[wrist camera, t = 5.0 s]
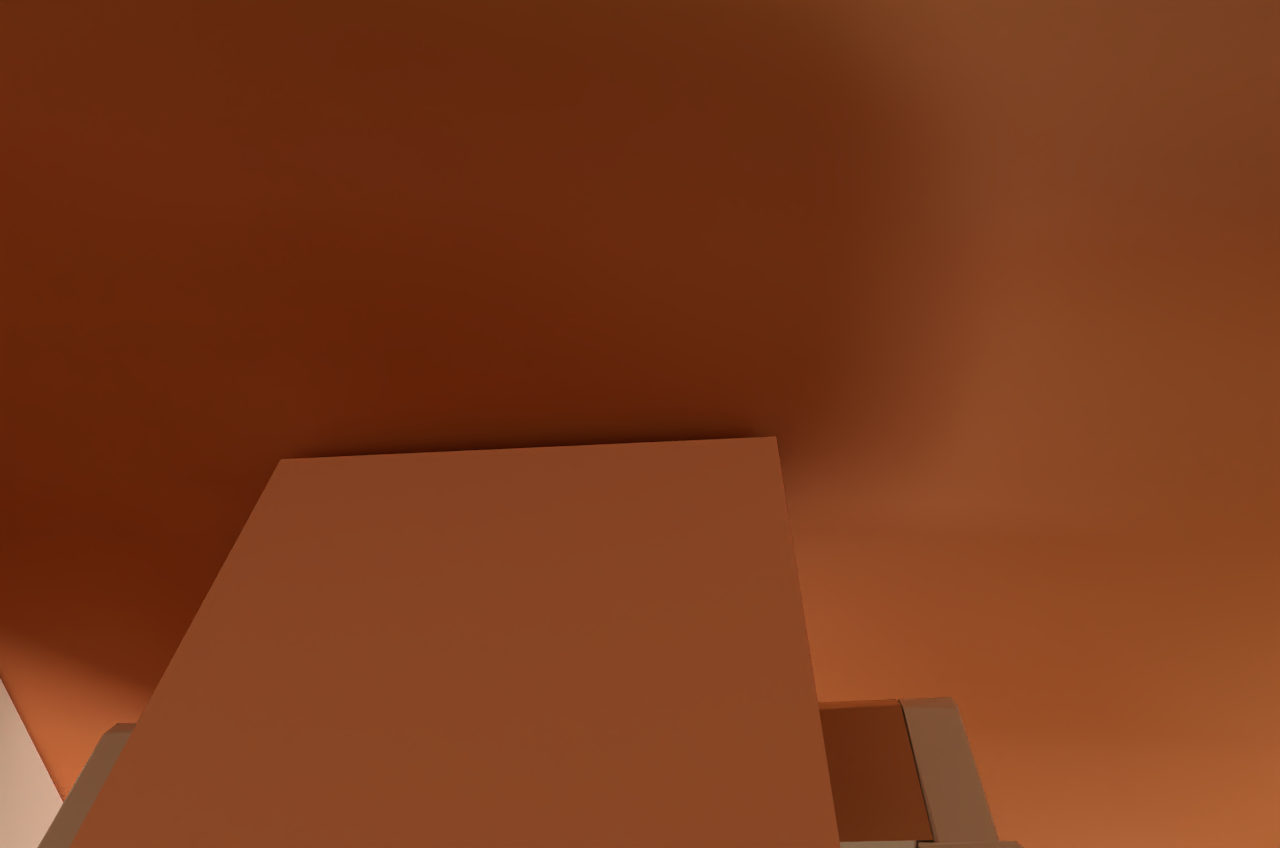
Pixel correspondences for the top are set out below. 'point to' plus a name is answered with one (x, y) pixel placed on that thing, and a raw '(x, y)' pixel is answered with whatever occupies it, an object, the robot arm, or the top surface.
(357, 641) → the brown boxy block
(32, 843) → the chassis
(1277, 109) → the top surface
